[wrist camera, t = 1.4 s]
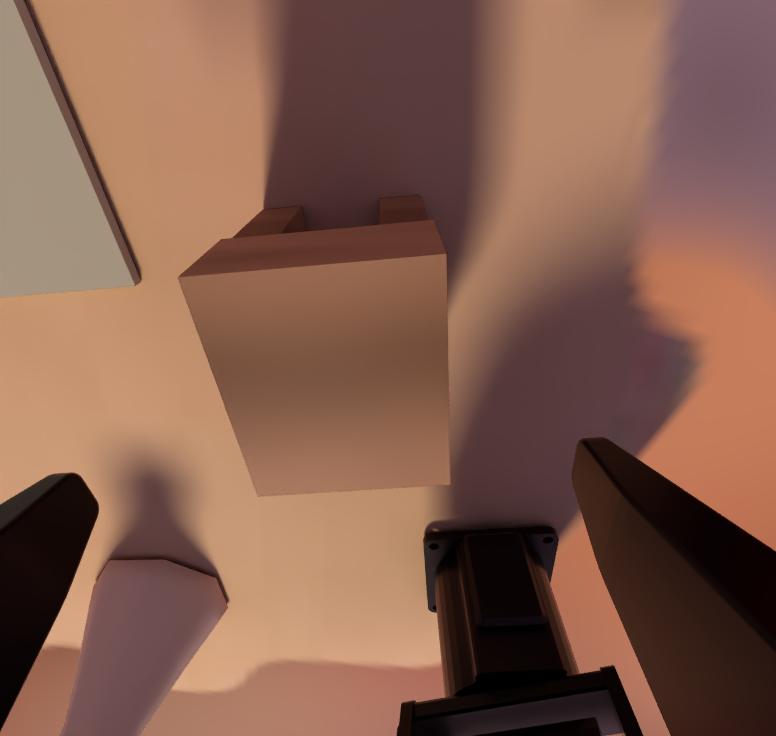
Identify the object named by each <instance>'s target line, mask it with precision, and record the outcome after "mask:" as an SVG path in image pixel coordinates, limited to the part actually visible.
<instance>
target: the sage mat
mask: <svg viewBox="0 0 776 736" xmlns="http://www.w3.org/2000/svg"><path fill="white" fill-rule="evenodd" d="M140 282H141V280H140V278H139V275H138V273H137V270H136V268H135V266H134V263H133V261H132V258H131V256H130V254H129V251H128V249H127V246H126V244H125V242H124V239H123V237H122V234H121V232H120V230H119V227H118V225H117V222H116V220H115V218H114V215H113V213H112V210H111V208H110V206H109V203H108V201H107V198H106V196H105V194H104V191H103V189H102V186H101V184H100V181H99V179H98V177H97V174H96V172H95V169H94V167H93V165H92V162H91V160H90V157H89V155H88V153H87V150H86V148H85V145H84V143H83V141H82V138H81V136H80V133H79V131H78V129H77V126H76V124H75V121H74V119H73V117H72V114H71V112H70V109H69V107H68V105H67V102H66V100H65V97H64V95H63V93H62V90H61V88H60V85H59V83H58V81H57V78H56V76H55V73H54V71H53V69H52V66H51V64H50V61H49V59H48V57H47V54H46V52H45V49H44V47H43V45H42V42H41V40H40V37H39V35H38V33H37V30H36V28H35V25H34V23H33V21H32V18H31V16H30V13H29V11H28V9H27V6H26V4H25V1H24V0H0V298H3V297H14V296H26V295H37V294H49V293H60V292H72V291H83V290H95V289H106V288H118V287H129V286H136V285H137V284H138V283H140Z"/></svg>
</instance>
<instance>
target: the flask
mask: <svg viewBox="0 0 776 736" xmlns="http://www.w3.org/2000/svg"><path fill="white" fill-rule="evenodd" d="M227 608H228V606H227V604H226V601H225V599H224V596H223V594H222V591H221V589H220V586H219V584H218V581H217V579H216V578H214V577H211V576H208V575H206V574H203V573H200V572H197V571H195V570H192V569H189V568H186V567H183V566H181V565H178V564H175V563H172V562H170V561H167V560H109V562H108V563H107V565H106V567H105V568H104V570H103V572H102V573H101V575H100V576H99V578H98V580H97V581H96V583H95V585H94V587H93V591H92V596H91V600H90V605H89V610H88V615H87V621H86V626H85V631H84V636H83V642H82V647H81V652H80V657H79V662H78V667H77V670H76V675H75V679H74V684H73V688H72V693H71V697H70V702H69V706H68V710H67V715H66V720H65V723H64V726H63V729H62V731H61V734H60V736H140V735H141V733H142V731H143V730H144V728H145V726H146V725H147V724H148V722H149V721H150V719H151V718H152V716H153V715H154V713H155V712H156V710H157V709H158V707H159V706H160V705H161V703H162V702H163V700H164V699H165V697H166V696H167V694H168V693H169V691H170V690H171V688H172V687H173V685H174V684H175V682H176V681H177V679H178V678H179V676H180V675H181V673H182V672H183V671H184V669H185V668H186V666H187V665H188V663H189V662H190V661H191V659H192V658H193V657H194V655H195V654H196V652H197V651H198V650H199V648H200V647H201V645H202V644H203V643H204V641H205V640H206V638H207V637H208V636H209V634H210V633H211V631H212V630H213V629H214V627H215V626H216V625H217V623H218V622H219V620H220V619H221V617H222V616H223V614H224V613H225V611H226V610H227Z"/></svg>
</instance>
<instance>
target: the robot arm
mask: <svg viewBox="0 0 776 736" xmlns="http://www.w3.org/2000/svg"><path fill="white" fill-rule="evenodd" d="M572 482H573V486H574V490H575V493H576V496H577V499H578V503H579V506H580V509H581V512H582V516H583V519H584V522H585V525H586V528H587V532H588V535H589V538H590V541H591V545H592V548H593V551H594V555H595V558H596V561H597V564H598V567H599V570H600V572H601V575H602V577H603V580H604V582H605V584H606V587H607V589H608V591H609V594H610V596H611V598H612V601H613V603H614V605H615V608H616V610H617V612H618V614H619V617H620V619H621V621H622V624H623V626H624V628H625V631H626V633H627V635H628V638H629V640H630V642H631V645H632V647H633V649H634V652H635V654H636V656H637V658H638V661H639V663H640V665H641V668H642V670H643V672H644V674H645V677H646V679H647V682H648V684H649V686H650V688H651V691H652V693H653V695H654V698H655V700H656V702H657V705H658V707H659V709H660V712H661V714H662V716H663V719H664V721H665V723H666V726H667V728H668V730H669V733H670V735H671V736H776V551H775V550H773V549H772V548H770V547H769V546H767V545H765V544H764V543H763V542H761V541H759V540H758V539H757V538H755V537H753V536H752V535H751V534H749V533H747V532H746V531H745V530H743V529H741V528H740V527H739V526H737V525H736V524H734V523H733V522H731V521H730V520H728V519H727V518H725V517H724V516H722V515H721V514H719V513H717V512H716V511H715V510H713V509H712V508H710V507H709V506H707V505H706V504H704V503H703V502H701V501H700V500H698V499H697V498H695V497H694V496H692V495H691V494H689V493H688V492H686V491H685V490H683V489H682V488H680V487H679V486H677V485H676V484H674V483H673V482H671V481H670V480H668V479H667V478H665V477H664V476H662V475H661V474H659V473H658V472H656V471H655V470H653V469H652V468H650V467H649V466H647V465H646V464H644V463H643V462H641V461H640V460H638V459H637V458H635V457H634V456H632V455H631V454H629V453H628V452H626V451H625V450H623V449H622V448H620V447H619V446H617V445H616V444H614V443H613V442H611V441H610V440H608V439H606V438H603V437H597V438H584V439H581V440H580V441H579V442H578V445H577V449H576V454H575V459H574V465H573V470H572ZM98 513H99V505H98V502H97V500H96V498H95V497H94V495H93V494H92V492H91V491H90V489H89V488H88V486H87V485H86V483H85V482H84V480H83V479H82V477H81V476H80V475H78V474H76V473H58V474H52V475H49V476H47V477H45V478H44V479H42V480H40V481H39V482H37V483H35V484H34V485H32V486H30V487H29V488H27V489H25V490H24V491H22V492H20V493H19V494H17V495H15V496H14V497H12V498H10V499H9V500H7V501H6V502H4V503H2V504H1V505H0V731H1V729H2V727H3V725H4V723H5V721H6V719H7V717H8V715H9V713H10V711H11V709H12V707H13V705H14V703H15V701H16V699H17V697H18V695H19V693H20V691H21V689H22V687H23V684H24V683H25V681H26V679H27V677H28V675H29V673H30V671H31V669H32V666H33V664H34V662H35V660H36V658H37V656H38V654H39V652H40V650H41V648H42V646H43V644H44V642H45V640H46V638H47V636H48V634H49V632H50V630H51V628H52V626H53V624H54V622H55V620H56V618H57V616H58V614H59V612H60V609H61V607H62V605H63V603H64V601H65V599H66V596H67V594H68V592H69V589H70V587H71V584H72V582H73V579H74V577H75V574H76V571H77V569H78V566H79V564H80V561H81V558H82V556H83V553H84V551H85V548H86V545H87V543H88V540H89V538H90V535H91V532H92V530H93V527H94V525H95V522H96V519H97V517H98ZM558 541H559V538H558V535H557V532H556V530H555V529H554V528H553V527H547V526H546V527H529V528H512V529H494V530H477V531H459V532H442V533H430V534H428V535H426V536H425V537H424V539H423V544H424V558H425V572H426V585H427V599H428V609H429V610H430V611H431V612H436V613H437V618H438V629H439V639H440V650H441V660H442V671H443V681H444V691H445V698H440V699H434V700H429V701H423V702H416V701H408V702H403V703H402V704H401V712H400V722H399V726H398V728H397V736H606V735H612V734H619V733H622V736H643V734H642V732H641V729H640V727H639V724H638V722H637V719H636V717H635V715H634V712H633V710H632V707H631V705H630V703H629V700H628V698H627V695H626V693H625V691H624V688H623V686H622V684H621V681H620V679H619V676H618V674H617V672H616V669H615V667H614V665H611V666H605V667H600V671H594V672H588V673H583V674H580V673H579V670H578V667H577V664H576V661H575V658H574V655H573V652H572V649H571V646H570V643H569V640H568V637H567V634H566V631H565V628H564V625H563V622H562V619H561V616H560V613H559V610H558V606H557V603H556V600H555V598H554V594H553V592H552V588H551V586H550V581H551V576H552V571H553V566H554V561H555V556H556V551H557V546H558Z"/></svg>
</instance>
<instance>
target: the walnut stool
mask: <svg viewBox="0 0 776 736" xmlns="http://www.w3.org/2000/svg"><path fill="white" fill-rule="evenodd" d="M178 280H179V283H180V285H181V288H182V291H183V294H184V296H185V299H186V302H187V304H188V307H189V310H190V313H191V315H192V318H193V321H194V324H195V326H196V329H197V332H198V334H199V337H200V340H201V343H202V345H203V348H204V351H205V354H206V356H207V359H208V362H209V364H210V367H211V370H212V373H213V375H214V378H215V381H216V384H217V386H218V389H219V392H220V394H221V397H222V400H223V403H224V405H225V408H226V411H227V414H228V416H229V419H230V422H231V424H232V427H233V430H234V433H235V435H236V438H237V441H238V443H239V446H240V449H241V452H242V454H243V457H244V460H245V463H246V465H247V468H248V471H249V473H250V476H251V479H252V482H253V484H254V487H255V490H256V493H257V495H258V497H261V496H277V495H293V494H309V493H325V492H341V491H357V490H373V489H389V488H405V487H421V486H437V485H450V438H449V378H448V318H447V258H446V251H445V249H444V246H443V243H442V241H441V238H440V235H439V232H438V230H437V227H436V224H435V221H434V220H428V218H427V215H426V212H425V208H424V205H423V202H422V199H421V196H420V195H412V196H402V197H391V198H381V199H380V209H379V224H378V225H372V226H361V227H350V228H339V229H328V230H317V231H307V232H306V227H305V221H304V216H303V211H302V206H296V207H285V208H275V209H264V210H262V211H261V212H260V213H259V214H258V215H256V216H255V217H254V218H253V219H252V220H251V221H250V222H249V223H248V224H247V225H246V226H245V227H243V228H242V229H241V230H240V231H239V232H238V233H237V234H236V235H235V236H234V237H233V238H230V239H221V240H220V241H219V242H218V243H216V244H215V245H214V246H213V247H212V248H211V249H210V250H208V251H207V252H206V253H205V254H204V255H203V256H202V257H200V258H199V259H198V260H197V261H196V262H195V263H194V264H192V265H191V266H190V267H189V268H188V269H187V270H186V271H184V272H183V273H182V274H181V275H180V276H179V277H178Z"/></svg>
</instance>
